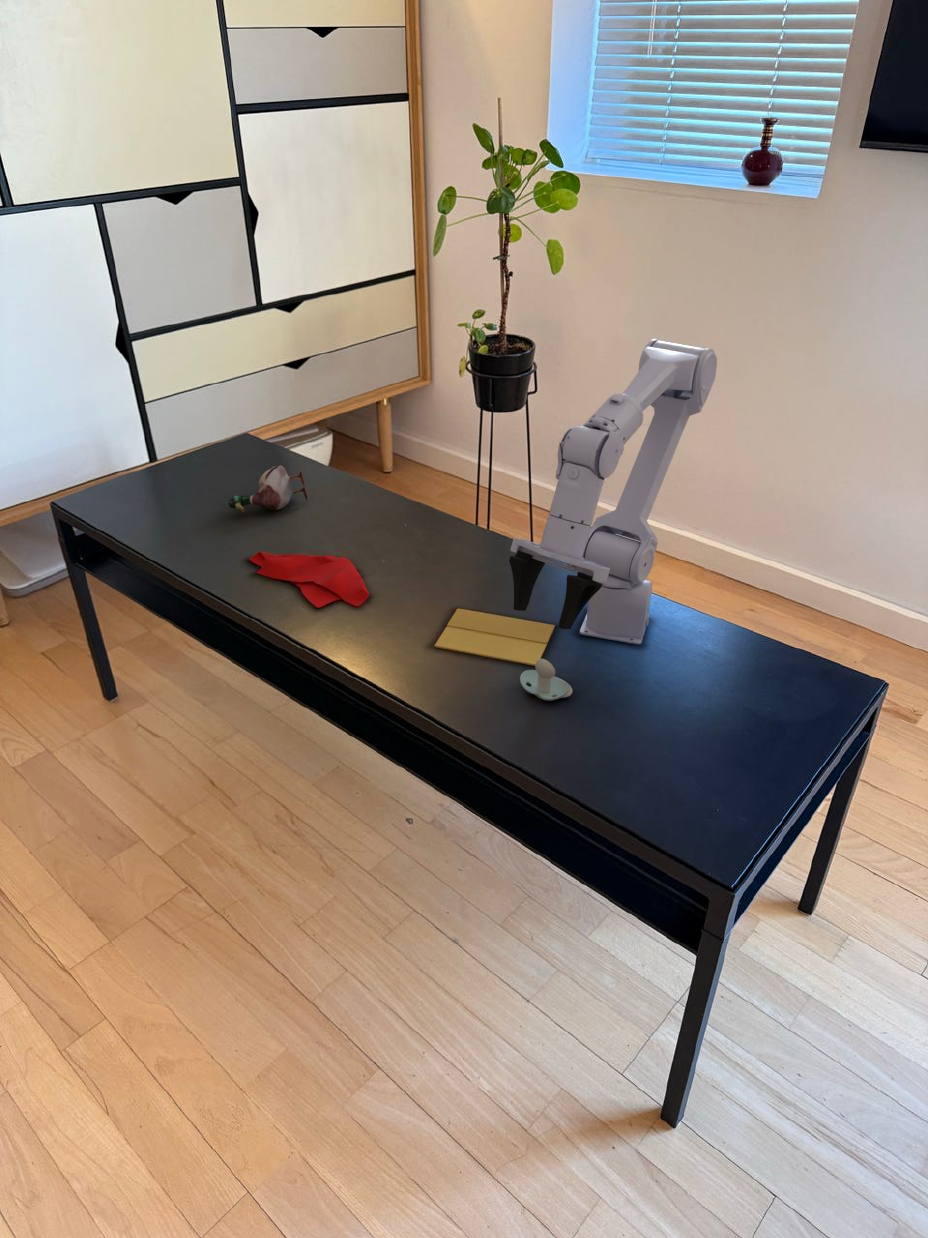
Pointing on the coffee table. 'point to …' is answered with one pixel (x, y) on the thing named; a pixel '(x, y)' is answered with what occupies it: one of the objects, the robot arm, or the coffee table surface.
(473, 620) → the envelope
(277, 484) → the decorative duck model
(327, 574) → the cloth
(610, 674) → the coffee table surface
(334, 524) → the coffee table surface
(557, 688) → the pacifier
